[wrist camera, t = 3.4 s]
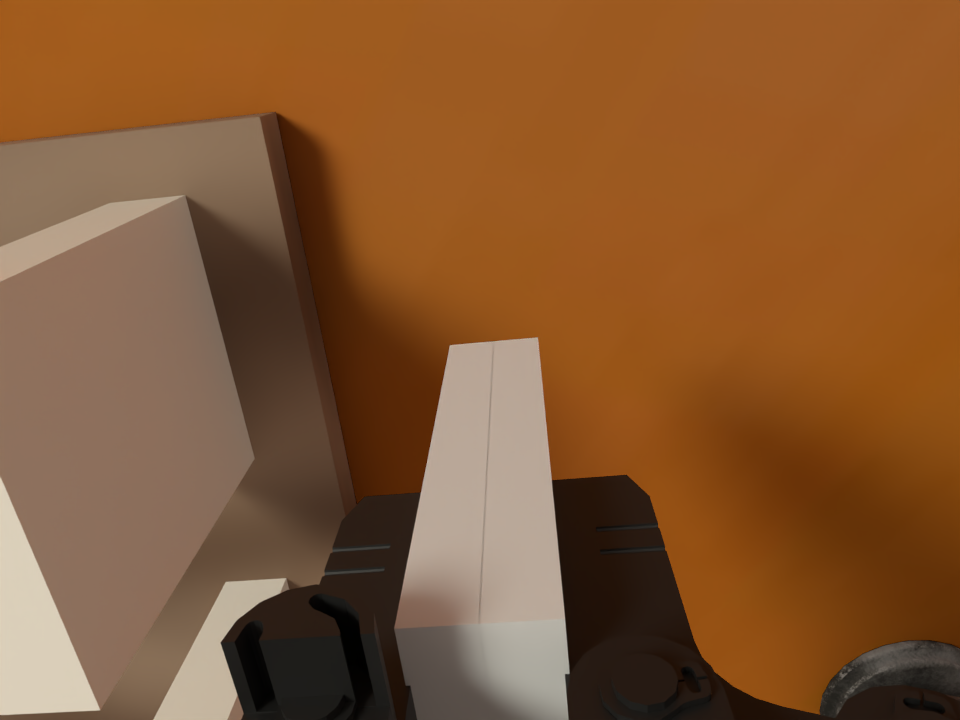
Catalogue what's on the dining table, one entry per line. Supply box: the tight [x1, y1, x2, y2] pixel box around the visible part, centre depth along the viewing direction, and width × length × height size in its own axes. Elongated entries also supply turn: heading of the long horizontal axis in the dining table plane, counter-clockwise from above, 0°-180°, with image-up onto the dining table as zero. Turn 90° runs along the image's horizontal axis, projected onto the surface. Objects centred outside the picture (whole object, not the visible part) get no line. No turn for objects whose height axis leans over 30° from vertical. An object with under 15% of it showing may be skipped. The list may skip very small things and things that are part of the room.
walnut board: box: [0, 112, 357, 720], centre depth 21 cm, size 21×16×1 cm
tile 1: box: [0, 195, 255, 715], centre depth 14 cm, size 7×2×8 cm, turn 6°
